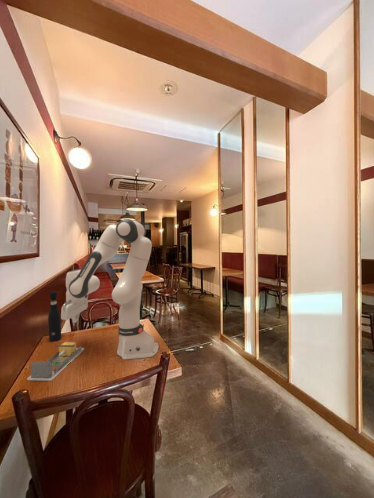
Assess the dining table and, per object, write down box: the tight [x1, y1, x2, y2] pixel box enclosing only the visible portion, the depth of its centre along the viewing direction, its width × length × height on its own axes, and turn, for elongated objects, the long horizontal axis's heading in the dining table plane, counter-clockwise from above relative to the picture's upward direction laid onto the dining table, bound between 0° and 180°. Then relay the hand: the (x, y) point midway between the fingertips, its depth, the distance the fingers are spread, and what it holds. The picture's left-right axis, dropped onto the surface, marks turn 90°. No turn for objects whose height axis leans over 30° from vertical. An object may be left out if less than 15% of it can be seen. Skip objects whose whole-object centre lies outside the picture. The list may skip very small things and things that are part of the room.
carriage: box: [54, 341, 77, 357], centre depth 109 cm, size 10×9×5 cm
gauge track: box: [26, 346, 85, 382], centre depth 104 cm, size 11×26×7 cm, turn 177°
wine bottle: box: [47, 290, 62, 343], centre depth 130 cm, size 6×6×30 cm
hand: (75, 321), depth 119 cm, fingers closed
